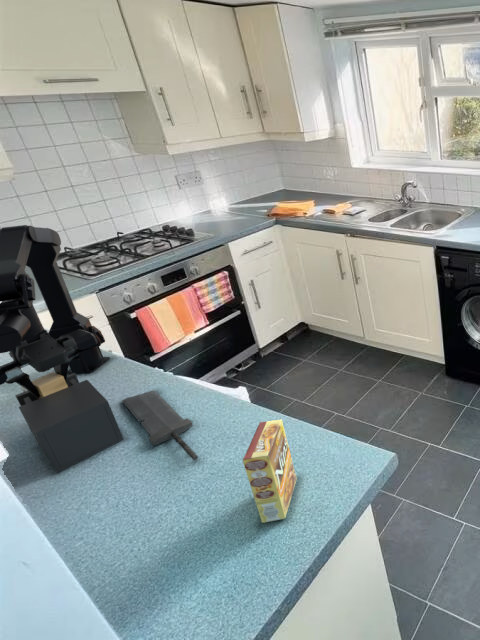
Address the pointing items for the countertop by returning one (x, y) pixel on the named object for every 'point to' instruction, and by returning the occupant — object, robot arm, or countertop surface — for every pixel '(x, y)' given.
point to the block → (49, 384)
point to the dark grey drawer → (28, 397)
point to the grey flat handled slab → (159, 419)
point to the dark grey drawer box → (72, 424)
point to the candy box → (270, 470)
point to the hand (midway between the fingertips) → (51, 390)
